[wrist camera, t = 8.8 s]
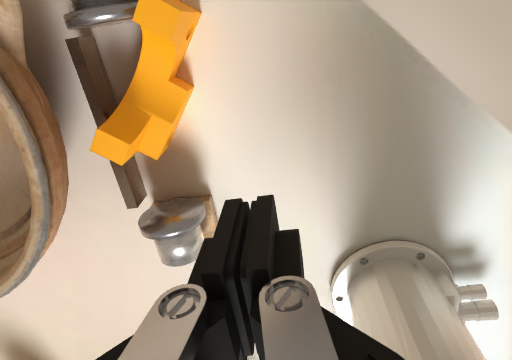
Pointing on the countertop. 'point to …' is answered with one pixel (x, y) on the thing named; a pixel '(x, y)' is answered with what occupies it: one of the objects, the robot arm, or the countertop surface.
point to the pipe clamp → (151, 85)
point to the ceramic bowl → (26, 159)
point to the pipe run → (103, 106)
